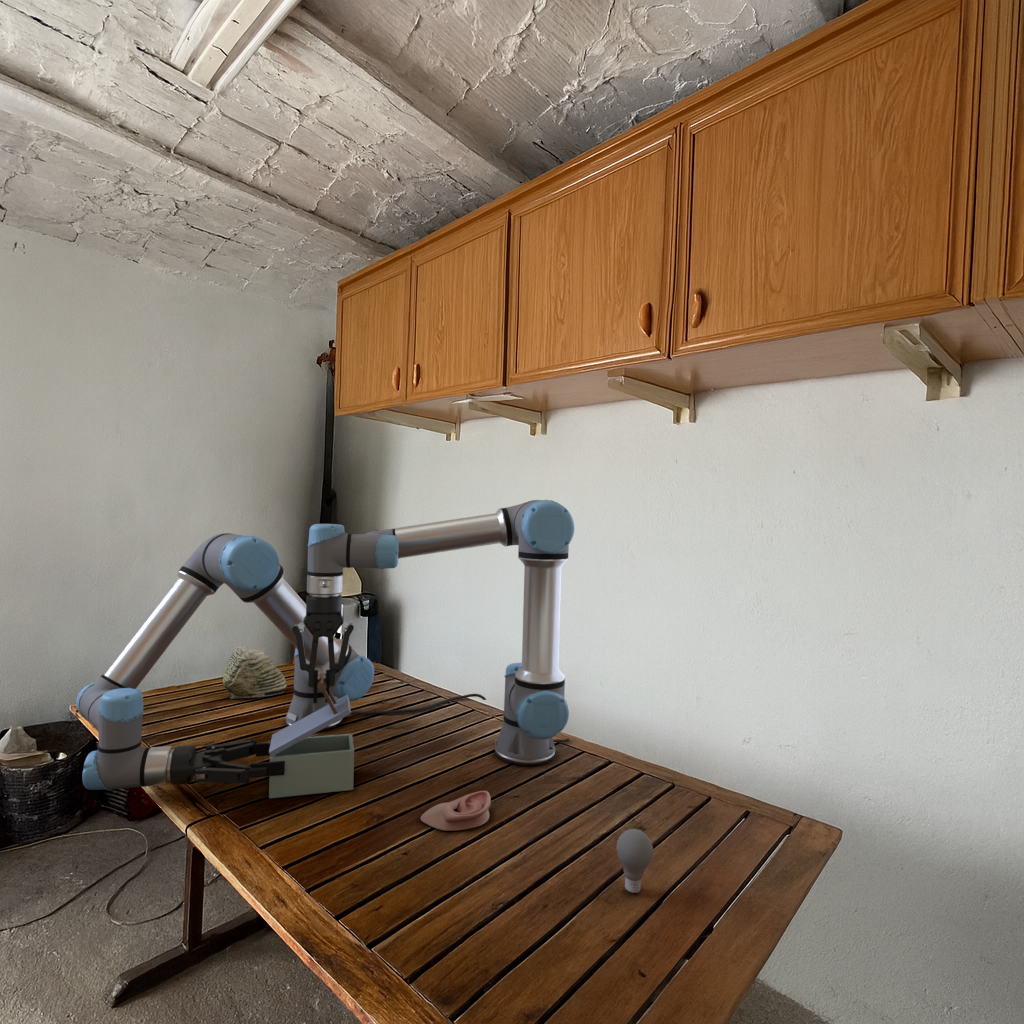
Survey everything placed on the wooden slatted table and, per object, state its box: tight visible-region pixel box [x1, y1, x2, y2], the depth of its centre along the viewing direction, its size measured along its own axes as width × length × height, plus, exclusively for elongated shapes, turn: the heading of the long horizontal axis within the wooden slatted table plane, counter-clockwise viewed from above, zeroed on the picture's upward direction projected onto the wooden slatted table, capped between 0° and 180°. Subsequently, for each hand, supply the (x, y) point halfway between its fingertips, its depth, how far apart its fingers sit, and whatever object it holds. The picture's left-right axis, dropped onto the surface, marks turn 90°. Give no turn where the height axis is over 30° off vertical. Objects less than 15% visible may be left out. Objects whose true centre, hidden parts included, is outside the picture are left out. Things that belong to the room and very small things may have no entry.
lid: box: [269, 673, 352, 757], centre depth 138 cm, size 18×10×9 cm, turn 106°
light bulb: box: [615, 828, 654, 894], centre depth 106 cm, size 6×6×10 cm
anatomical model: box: [419, 790, 492, 832], centre depth 127 cm, size 13×4×12 cm
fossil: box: [222, 646, 288, 699], centre depth 198 cm, size 9×18×15 cm, turn 132°
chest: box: [268, 733, 355, 799], centre depth 139 cm, size 17×10×9 cm, turn 107°
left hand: (286, 757), depth 138 cm, fingers closed on chest, 10 cm apart
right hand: (321, 700), depth 139 cm, fingers closed on lid, 2 cm apart
